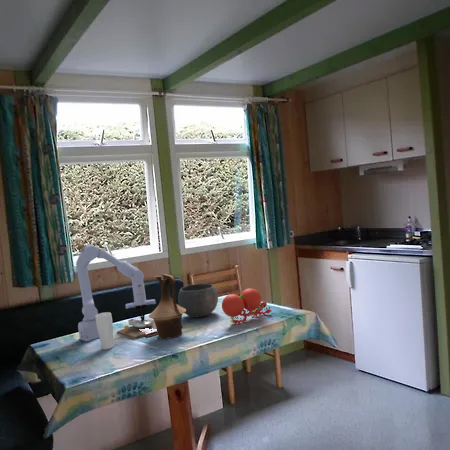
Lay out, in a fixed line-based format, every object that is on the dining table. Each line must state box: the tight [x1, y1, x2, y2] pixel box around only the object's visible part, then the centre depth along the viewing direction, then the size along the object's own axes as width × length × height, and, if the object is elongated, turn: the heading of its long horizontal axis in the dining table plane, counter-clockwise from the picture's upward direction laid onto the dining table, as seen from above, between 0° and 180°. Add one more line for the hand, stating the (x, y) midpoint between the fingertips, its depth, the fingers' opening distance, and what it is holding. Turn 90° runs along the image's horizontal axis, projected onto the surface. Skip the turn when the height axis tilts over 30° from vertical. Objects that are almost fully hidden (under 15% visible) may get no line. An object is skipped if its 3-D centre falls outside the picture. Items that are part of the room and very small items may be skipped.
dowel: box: [123, 325, 129, 333], centre depth 216 cm, size 2×2×3 cm
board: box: [116, 319, 157, 340], centre depth 221 cm, size 20×17×2 cm
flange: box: [128, 318, 153, 329], centre depth 223 cm, size 15×9×2 cm, turn 47°
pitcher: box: [148, 273, 186, 339], centre depth 207 cm, size 18×17×28 cm
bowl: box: [177, 283, 219, 318], centre depth 234 cm, size 20×20×15 cm
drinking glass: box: [95, 311, 115, 351], centre depth 200 cm, size 7×7×15 cm
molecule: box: [221, 287, 272, 325], centre depth 216 cm, size 25×11×15 cm, turn 129°
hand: (142, 320), depth 229 cm, fingers closed
